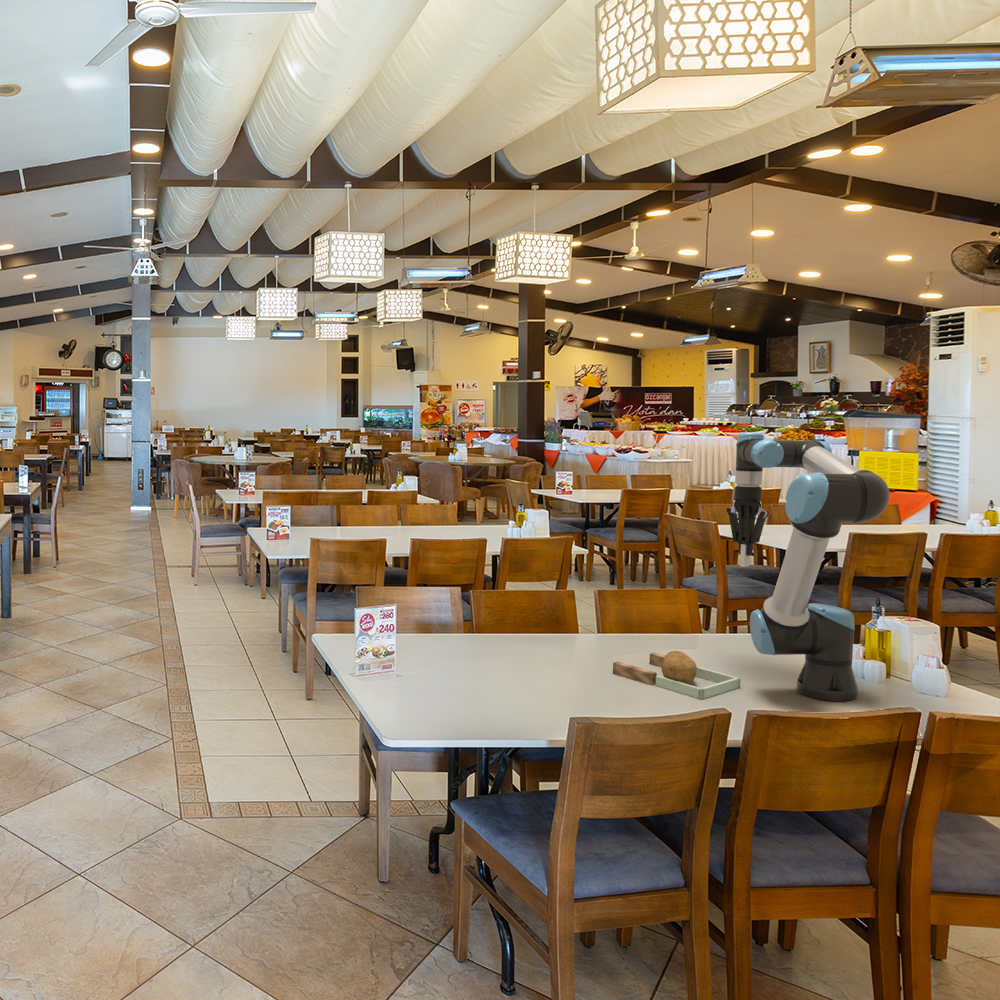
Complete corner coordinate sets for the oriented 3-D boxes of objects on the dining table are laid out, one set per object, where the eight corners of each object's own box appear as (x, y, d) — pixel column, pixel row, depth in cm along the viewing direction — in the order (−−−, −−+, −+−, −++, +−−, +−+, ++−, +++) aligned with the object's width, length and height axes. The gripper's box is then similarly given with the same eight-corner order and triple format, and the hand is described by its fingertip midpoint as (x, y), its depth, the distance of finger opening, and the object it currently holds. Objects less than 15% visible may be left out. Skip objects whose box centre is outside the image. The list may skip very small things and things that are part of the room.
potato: (665, 691, 230) (666, 661, 229) (656, 675, 244) (657, 647, 243) (702, 691, 230) (703, 662, 229) (691, 676, 244) (693, 648, 243)
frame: (740, 687, 234) (740, 678, 234) (701, 699, 223) (702, 689, 223) (694, 674, 246) (694, 665, 246) (655, 685, 235) (656, 676, 235)
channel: (692, 673, 247) (692, 663, 247) (651, 684, 235) (651, 673, 235) (653, 662, 257) (654, 652, 257) (612, 673, 246) (613, 662, 246)
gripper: (775, 486, 250) (771, 568, 252) (736, 483, 260) (733, 562, 262) (760, 487, 245) (757, 570, 247) (721, 484, 255) (718, 564, 257)
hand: (744, 566), depth 254 cm, fingers closed
